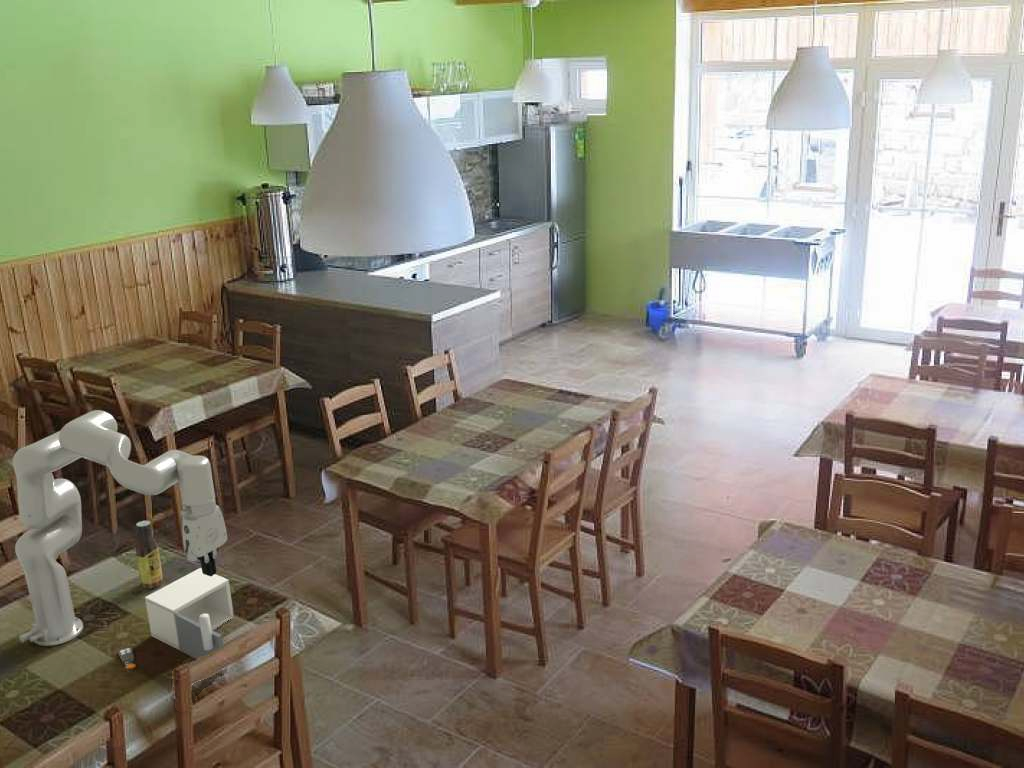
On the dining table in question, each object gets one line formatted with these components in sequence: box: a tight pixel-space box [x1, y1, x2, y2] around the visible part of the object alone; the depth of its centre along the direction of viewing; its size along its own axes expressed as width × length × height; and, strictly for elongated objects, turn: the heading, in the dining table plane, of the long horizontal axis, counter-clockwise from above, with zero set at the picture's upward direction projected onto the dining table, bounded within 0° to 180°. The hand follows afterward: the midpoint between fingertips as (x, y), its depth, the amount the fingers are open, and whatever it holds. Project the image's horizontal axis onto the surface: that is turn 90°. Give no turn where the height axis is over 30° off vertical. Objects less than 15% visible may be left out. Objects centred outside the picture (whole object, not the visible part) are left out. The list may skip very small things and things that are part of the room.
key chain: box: [117, 647, 137, 670], centre depth 248 cm, size 13×4×2 cm, turn 32°
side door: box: [174, 612, 228, 675], centre depth 244 cm, size 19×4×16 cm, turn 54°
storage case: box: [144, 567, 235, 651], centre depth 261 cm, size 18×12×12 cm, turn 145°
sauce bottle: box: [135, 520, 164, 590], centre depth 282 cm, size 6×6×20 cm
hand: (209, 573), depth 236 cm, fingers closed
